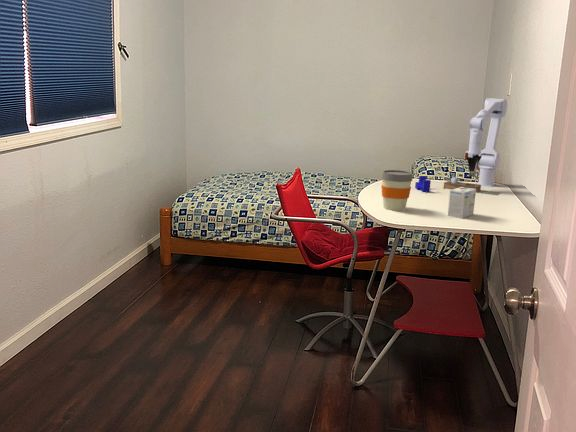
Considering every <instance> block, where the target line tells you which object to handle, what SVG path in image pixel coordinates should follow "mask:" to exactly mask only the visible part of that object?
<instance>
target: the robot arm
mask: <svg viewBox="0 0 576 432" xmlns="http://www.w3.org/2000/svg"><path fill="white" fill-rule="evenodd" d="M483 107H484V108H483V109H481V110H480V111H479V112H478V113H477V114H476V116H473V117H472V118H470V120H469V134H470V135H469V143H468V150H466V151H465V153H466V154H467V155H466V156H465V158H466V160H467V163H468V171H469V172H470V171H473V172H474V170H475V166H476V163H477V168H479V175H478V182H477V183H476V184H479V185H481V187H489V188H492V187H494V186H496V183H495V178H496V169H497V168H498V167H499V165H500V153H499V152H498V151H497V150H496V148H497V147H496V146H497V142H498V136H499V131H500V125H501V121H502V118H503V117H506V114H507V110H508V109H507V108H508V101H507V99H506V98H493V97H492V98H491V97H486V99H485V101H484V106H483ZM489 119H490V124H489V127H488V128H489V129H488V133H487V139H486V143H485V148H484V149H482V146H483V145H482V144H483V135H484V130H485V129H486V126H487V123H488V122H489ZM477 160H478V161H477ZM477 168H476V170H477Z"/></svg>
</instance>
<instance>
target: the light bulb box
mask: <svg viewBox="0 0 576 432" xmlns="http://www.w3.org/2000/svg"><path fill="white" fill-rule="evenodd" d="M476 194H477V192H476V189H473V188H466V187H459V188H456V189H453V190H452V189H449V197H448V208H447V216H449V217H453V218H458V219H465V218H468V217H471V216H473V215H474V214H475V213H474V212H475V210H474V209H475V203H476V196H477V195H476Z"/></svg>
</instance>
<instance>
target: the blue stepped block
mask: <svg viewBox="0 0 576 432" xmlns="http://www.w3.org/2000/svg"><path fill="white" fill-rule="evenodd" d="M431 182H432V181H431V180H430V179H427V177H426V176H424V175H423V176H422V175H419V177H418V181H415V186H414V189H415V190H417V191H421V192H422V193H423V192H425V194H427V193H428V194H429V193H430V191H431Z"/></svg>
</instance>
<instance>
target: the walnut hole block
mask: <svg viewBox="0 0 576 432" xmlns="http://www.w3.org/2000/svg"><path fill="white" fill-rule="evenodd" d="M451 181H452V180H447V181H445V182H443V190H453V189H456V188H459V187H466V188H473V189H476V193H478V192H480V191H481V189H482V188H481V187H482V186H481V185H479V184H477V183H472V182H471V183H469V182H461V181H458V184H454V183H451Z"/></svg>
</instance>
